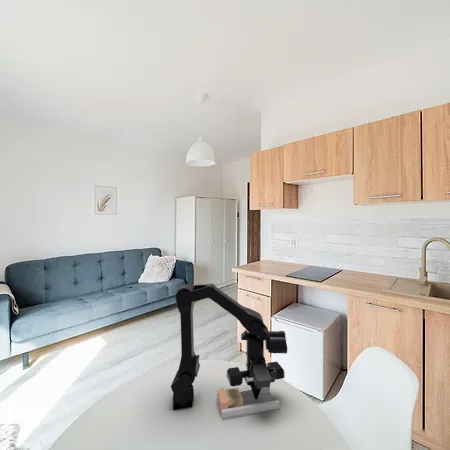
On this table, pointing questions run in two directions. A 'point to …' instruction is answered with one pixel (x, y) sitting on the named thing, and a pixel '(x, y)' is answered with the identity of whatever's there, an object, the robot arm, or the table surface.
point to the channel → (247, 404)
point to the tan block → (234, 398)
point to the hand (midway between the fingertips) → (255, 398)
